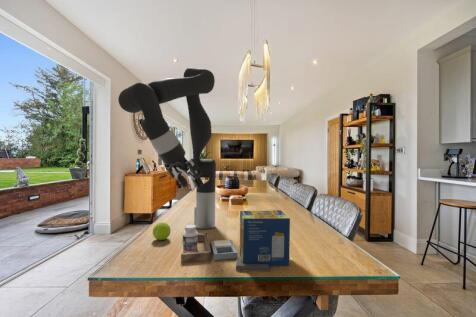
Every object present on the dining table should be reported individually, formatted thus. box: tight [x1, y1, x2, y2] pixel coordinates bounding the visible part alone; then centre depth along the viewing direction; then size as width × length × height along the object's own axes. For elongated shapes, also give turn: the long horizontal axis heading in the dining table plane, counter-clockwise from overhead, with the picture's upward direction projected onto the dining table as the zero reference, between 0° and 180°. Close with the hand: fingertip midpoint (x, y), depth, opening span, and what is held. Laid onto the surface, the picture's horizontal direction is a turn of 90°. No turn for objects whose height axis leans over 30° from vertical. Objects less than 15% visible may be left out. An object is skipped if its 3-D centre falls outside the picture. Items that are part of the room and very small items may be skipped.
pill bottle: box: [182, 224, 199, 253], centre depth 86 cm, size 5×5×9 cm
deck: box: [210, 239, 239, 261], centre depth 84 cm, size 8×12×2 cm, turn 12°
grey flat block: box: [235, 258, 270, 272], centre depth 73 cm, size 10×5×2 cm, turn 88°
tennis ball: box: [152, 222, 172, 241], centre depth 96 cm, size 7×7×7 cm
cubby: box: [180, 233, 212, 263], centre depth 86 cm, size 10×19×3 cm, turn 12°
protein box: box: [239, 209, 291, 267], centre depth 79 cm, size 10×15×16 cm
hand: (193, 185), depth 80 cm, fingers open, 8 cm apart
